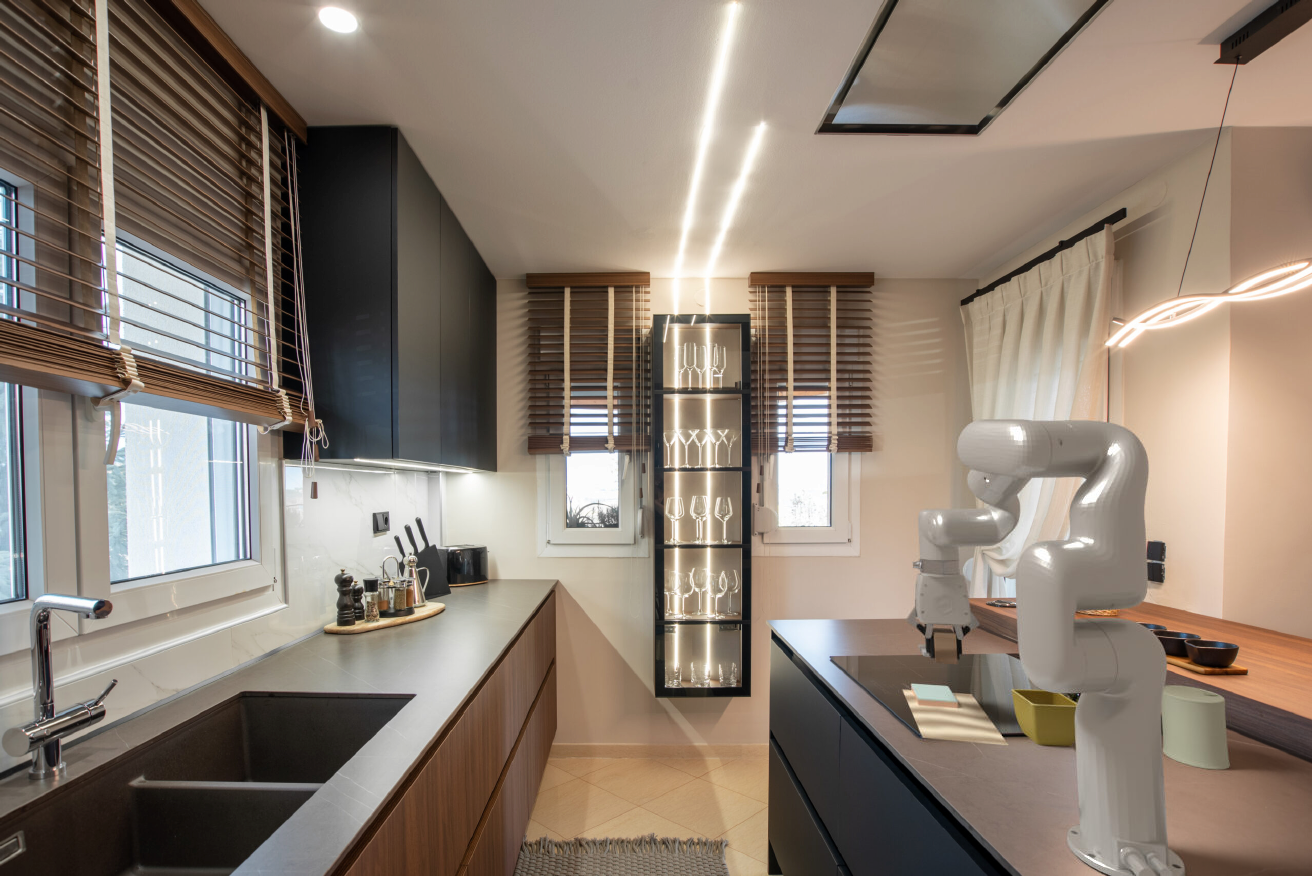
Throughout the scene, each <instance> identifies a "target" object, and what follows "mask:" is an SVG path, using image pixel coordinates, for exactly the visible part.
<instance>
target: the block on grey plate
mask: <svg viewBox="0 0 1312 876" xmlns="http://www.w3.org/2000/svg"><path fill="white" fill-rule="evenodd" d="M932 635H933V639H934V647H935V658H932V660H933V661H934V663H936V664H945V665H946V664H948V665H950V664H951V665H958V660H957V645H956V634H955V633H954V631H953V629H951V628H947V627H946V628H943V627H933V630H932ZM918 650H919V651H920V652H921V654H922V656H923V657H928V658H929V657H930V655H929V653H927V652H926V644H918ZM930 658H931V657H930Z"/></svg>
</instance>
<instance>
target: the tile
mask: <svg viewBox="0 0 1312 876" xmlns="http://www.w3.org/2000/svg"><path fill="white" fill-rule="evenodd" d="M910 687H911V689H910V690H912V693H913V695H914V697H915V699H916V701H917V703H918V705H922V706H935V707H948V708H958V701H957V700H956V698H955V696H954V695H953V693H954V692H952V690H951V689H950V687H949V686H947V685H937V684H936V685H934V684H925V683H924V684H923V683H922V684H921V683H911V684H910Z"/></svg>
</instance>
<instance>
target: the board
mask: <svg viewBox="0 0 1312 876" xmlns="http://www.w3.org/2000/svg"><path fill="white" fill-rule="evenodd" d="M901 690H902V692H903V694H904V697H905V700H906V701H907V702H906V703H908V706H909V709H910V711H911V713H912V716H913V719H914V720H915V722H916V725H917V728H918V730H919V732H920V735H921V737H922V738H924V739H931V740H932V739H933V740H942V741H943V740H944V741H953V742H955V741H956V742H966V743H977V744H987V745H988V744H990V745H999V746H1009V743H1008V742H1007V741H1006V740H1005V737H1003V736H1002V734H1001V732H1000V731H999V730H998V729H997V727H996V726H995V725H994V723H993V722H992V720H991V719H990V718H989V716H988V715H987V714H986V712H985V710H984V709H983V708H982V706H981V705H980V704H979V703H978V701H977V700H976V698H975V697H974V696H973V694H971V693H970V694H969V693H960V692H959V693H958V692H952V693H953V695H954V696H955V698H956V700H957V701H958V708H948V707H935V706H922V705H918V703H917V701H916V699H915V697H914V695H913V693H912V690H911V689H903V688H902V689H901Z"/></svg>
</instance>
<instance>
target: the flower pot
mask: <svg viewBox="0 0 1312 876" xmlns="http://www.w3.org/2000/svg"><path fill="white" fill-rule="evenodd" d="M1011 695H1012V702H1013V707H1014V713H1015V716H1016V717H1015V718H1016V720H1017V722H1018V725H1019V727H1020V730H1021V731H1022V733H1023V734H1024V735H1025V736H1027V737H1028V738H1029V739H1030V740H1031V741H1033V742H1034V743H1035V744H1036V745H1039V746H1061V747H1072V746H1073V744H1074V743H1075V711H1076V706H1077V703H1078V702H1075V701H1074V700H1072V699H1071V698H1069V697H1067V696H1065V694H1063V693H1053V692H1048V691H1045V690H1042V689H1025V688H1023V689H1019V688H1018V689H1017V688H1015V689H1013V688H1012V689H1011Z"/></svg>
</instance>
